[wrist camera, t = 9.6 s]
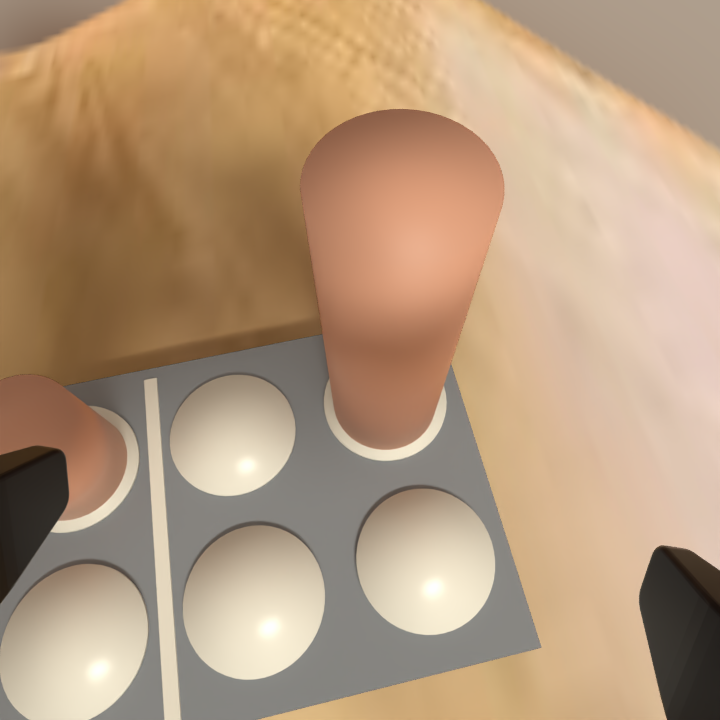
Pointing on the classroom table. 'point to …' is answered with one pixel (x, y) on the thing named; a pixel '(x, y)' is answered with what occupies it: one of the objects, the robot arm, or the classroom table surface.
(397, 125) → the terracotta pin
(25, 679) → the pattern board
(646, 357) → the classroom table surface
